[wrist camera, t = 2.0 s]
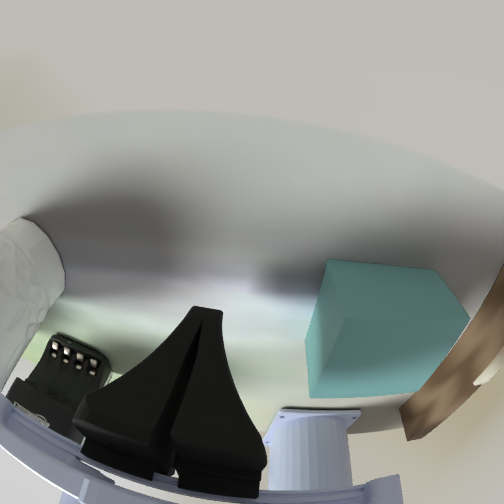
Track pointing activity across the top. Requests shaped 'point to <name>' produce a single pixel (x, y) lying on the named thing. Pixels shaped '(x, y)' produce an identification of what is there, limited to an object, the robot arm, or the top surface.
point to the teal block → (379, 329)
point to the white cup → (25, 288)
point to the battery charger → (60, 385)
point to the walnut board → (460, 368)
